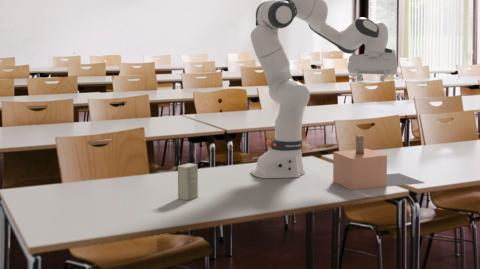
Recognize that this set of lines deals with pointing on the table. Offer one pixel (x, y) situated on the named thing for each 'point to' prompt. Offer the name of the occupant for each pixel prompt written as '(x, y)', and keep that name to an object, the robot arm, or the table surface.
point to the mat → (400, 180)
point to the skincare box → (187, 181)
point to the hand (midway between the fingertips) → (370, 80)
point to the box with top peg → (359, 167)
